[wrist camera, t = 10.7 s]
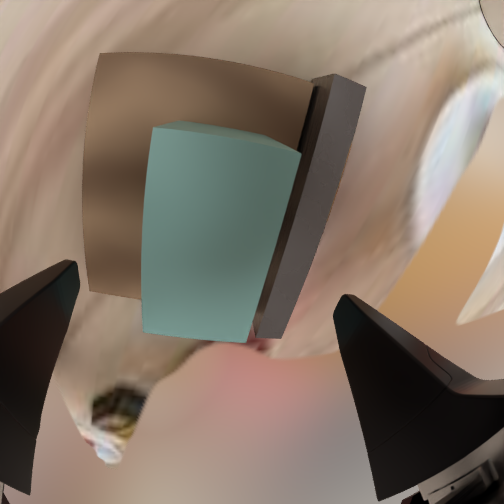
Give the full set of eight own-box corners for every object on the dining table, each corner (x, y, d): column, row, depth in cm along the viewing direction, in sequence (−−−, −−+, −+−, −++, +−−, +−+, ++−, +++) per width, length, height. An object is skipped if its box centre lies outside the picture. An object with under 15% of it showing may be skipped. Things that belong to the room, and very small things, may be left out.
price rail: (275, 309, 23) (284, 338, 20) (249, 307, 22) (255, 337, 19) (343, 90, 15) (370, 89, 12) (312, 79, 14) (334, 73, 11)
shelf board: (248, 302, 22) (250, 312, 21) (94, 282, 19) (89, 290, 18) (307, 84, 14) (314, 83, 13) (106, 56, 11) (99, 53, 10)
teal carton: (268, 135, 15) (306, 155, 9) (236, 266, 19) (249, 342, 13) (179, 120, 14) (153, 127, 8) (162, 257, 18) (143, 332, 12)
